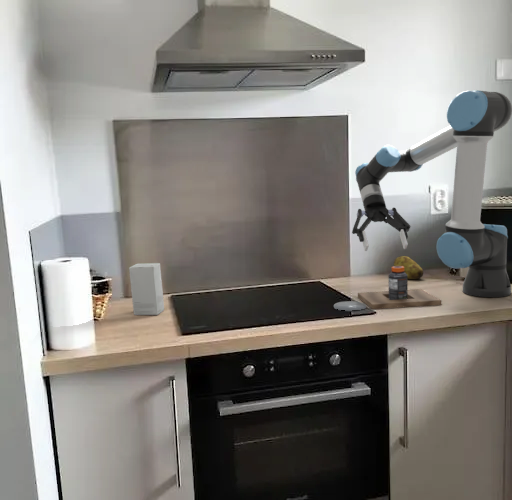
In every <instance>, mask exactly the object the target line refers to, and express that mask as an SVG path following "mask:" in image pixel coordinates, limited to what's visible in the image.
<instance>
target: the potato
mask: <svg viewBox="0 0 512 500" xmlns="http://www.w3.org/2000/svg"><path fill="white" fill-rule="evenodd" d="M393 266H403V267H404V272H405V273H406V274H407V278H408V279H407V280H419V279H421V278H422V277H423V275H424V270H423V268H422V267H421V266H420V264H418V263H417V262H416V261H415V260H413V259H411V258H410V257H409V256H405V255H401V256H398V257H396V258H395V259H393Z"/></svg>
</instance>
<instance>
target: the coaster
mask: <svg viewBox="0 0 512 500" xmlns="http://www.w3.org/2000/svg"><path fill="white" fill-rule="evenodd" d="M333 309H335V310H337V309H338V310H337V311H341V310H345V311H344V312H353V311H352V310H360V311H362V310H361V309H364V310H365V309H367V304H366V303H364V302H360V301H350V300H349V301H347V300H345V301H339V302H336V303H334V304H333Z"/></svg>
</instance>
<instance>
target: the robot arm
mask: <svg viewBox="0 0 512 500" xmlns="http://www.w3.org/2000/svg"><path fill="white" fill-rule="evenodd" d="M446 111H447V112H446V120H447V123H448V124H449V126H447V127H445V128H443V129H441V130H439V131H437V132H436V133H434V134H431V135H430V136H428V137H427V138H424V139H422V140H421V141H420V142H417V143H415V144H413V145H412V146H411V147H409V148H407V149H405V150H399V149H398V148H396V147H395V146H394V145H390V144H385V145H383V146H382V147H381V148H380V149H379V150H378V151H377V152H376V154H375V155H374V156H373V157H372V158H371V160H370V161H369V162H364V163H362V164H360V165H358V166H357V167H356V169H355V172H354V173H355V181H356V183H357V186H358V191H359V193H360V194H359V195H360V197H361V200H362V205H363V208H364V210H362V208H358V209H357V213H356V219H355V222H354V224H353V228H352V231H351V234H352V235H356V236H357V237H358V239H359V242H360V243H362V245H363V250H364V251H365V252H367V251H368V249H369V242H368V239H367V238H368V237H367V235H366V231H365V229H366V228H368V226H369V225H370V224H371V222H373V223H377V222H378V223H379V222H380V223H382V222H384V223H385V224H388V225H389V226H391V227H393V229H395V230H396V231H398V232H399V238H400V240H401V242H400V243H401V244H402V248H403V250H407V247H408V245H409V242H408V238H409V236H408V232H409V231H410V229H411V227H412V226H411V225H410V223H408V221H406V220H405V218H403V216H402V215H400V213H399V212H398V210H397V209H396V207H392V209H391V208H390V209H388V207H387V205H386V202H385V199H384V195H383V191H382V188H381V185H380V182H381V181H382V180H383V179H384V178H385V177H386V176H387V174H389V173H403V172H404V173H406V172H408V173H409V172H414V171H416V172H417V171H418V170H420V169H421V168H422V167H423V165H424V164H426V163H427V162H429V161H433V160H434V159H436V158H438V157H440V156H442V155H444V154H445V153H447V152H450V151H451V150H454V149H456V156H455V168H454V180H453V190H452V191H453V192H452V204H451V215H450V220H448V221H447V222H446V223H445V226H444V227H445V228H444V229H445V230H444V233H443V234H442V235H441V236H440V237H439V238H438V239H437V241H436V252H437V256H438V258H439V259H440V260H441V262H442V263H443V264H444V265H445V266H447V267H448V268H452V269H466V268H467V272H466V275H465V278H464V280H463V283H462V292H463V293H464V294H466V295H468V296H474V297H480V298H502V297H503V298H504V297H507V296H510V295H512V285H511V282H510V278H509V275H508V272H507V259H508V257H507V256H508V255H507V254H508V239H509V236H508V229H507V227H506V226H505V225H500V224H486V223H482V221H481V217H482V215H481V213H482V205H483V203H482V202H483V195H484V194H483V193H484V181H485V172H486V161H487V152H488V151H487V150H488V149H487V148H488V143H489V141H491V140H492V139H493V138H494V133H495V132H497V131H499V130H500V129H502V128H503V127H505V126H506V125H507V124H508V123H509V121H510V119H511V116H512V103H511V101H510V99H509V98H508V97H507V96H506V95H505V94H503V93H502V92H497V91H486V90H477V89H476V90H475V89H474V90H465V91H462V92H459V93H458V94H457V95H455V97H454V98H452V99H451V101H450V103H449V104H448V107H447V110H446ZM364 216H365V218H366V217H367V218H366V219H365V220H364V222H362V224H361V226H360V227H359V224H360V221H361V218H363V217H364ZM358 227H359V228H358Z"/></svg>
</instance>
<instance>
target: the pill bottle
mask: <svg viewBox="0 0 512 500" xmlns="http://www.w3.org/2000/svg"><path fill="white" fill-rule="evenodd" d="M408 280H409V279H408V278H407V274H406V273H405V272H404V267H403V266H394V265H393V266H391V272H389V274H388V291H389V298H388V299H389V300H399V299H408V290H409V288H408Z"/></svg>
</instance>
